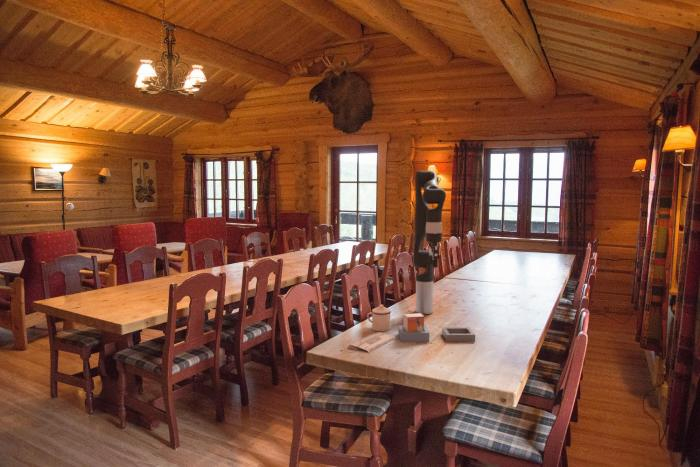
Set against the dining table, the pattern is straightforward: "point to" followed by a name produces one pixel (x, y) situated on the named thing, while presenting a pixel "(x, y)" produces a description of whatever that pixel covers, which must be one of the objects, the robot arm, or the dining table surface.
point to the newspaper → (372, 341)
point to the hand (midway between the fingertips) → (433, 265)
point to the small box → (413, 322)
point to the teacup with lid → (380, 318)
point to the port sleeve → (413, 335)
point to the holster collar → (458, 334)
